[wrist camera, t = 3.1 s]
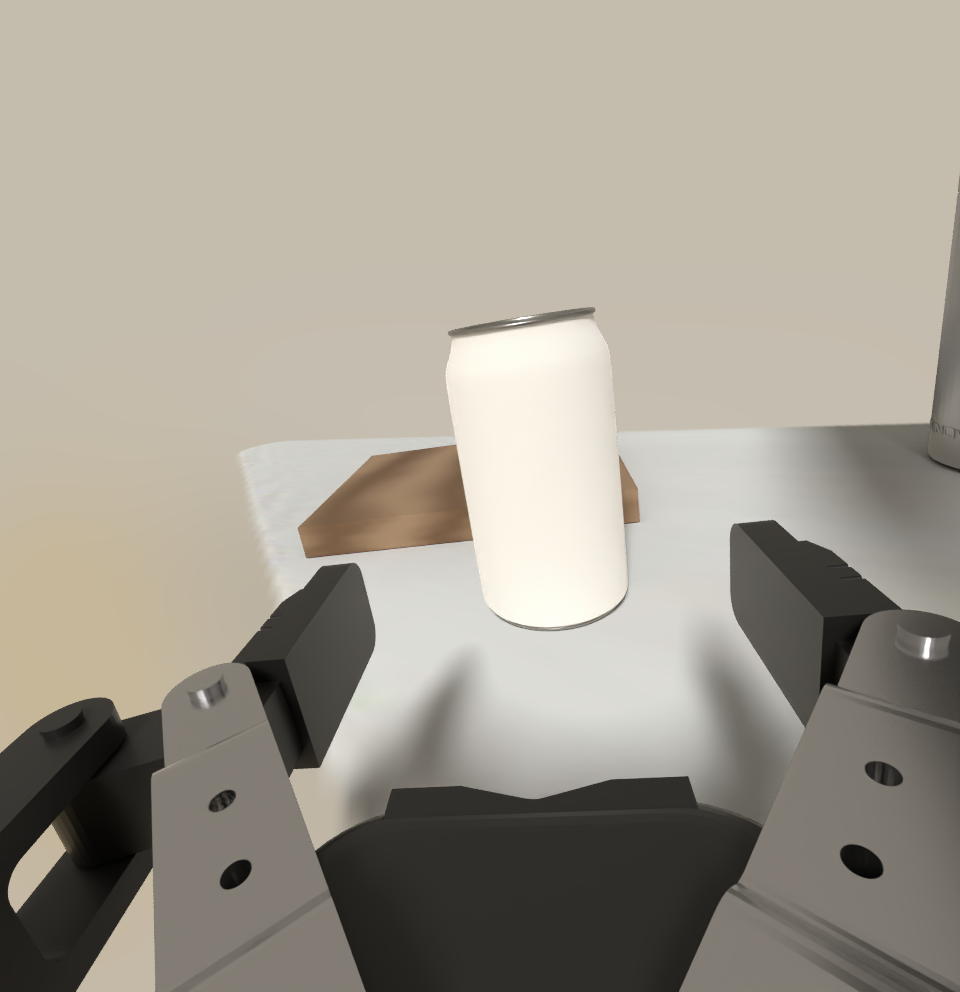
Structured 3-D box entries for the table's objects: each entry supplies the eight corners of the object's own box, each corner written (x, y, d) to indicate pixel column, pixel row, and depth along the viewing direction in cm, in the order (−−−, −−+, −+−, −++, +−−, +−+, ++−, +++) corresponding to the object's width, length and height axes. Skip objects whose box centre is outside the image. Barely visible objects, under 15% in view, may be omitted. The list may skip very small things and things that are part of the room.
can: (470, 581, 27) (424, 333, 23) (589, 549, 28) (565, 308, 24) (509, 653, 21) (455, 333, 17) (658, 608, 22) (640, 300, 18)
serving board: (604, 448, 45) (602, 425, 45) (639, 521, 30) (637, 488, 30) (376, 477, 48) (371, 456, 47) (306, 557, 33) (297, 528, 32)
